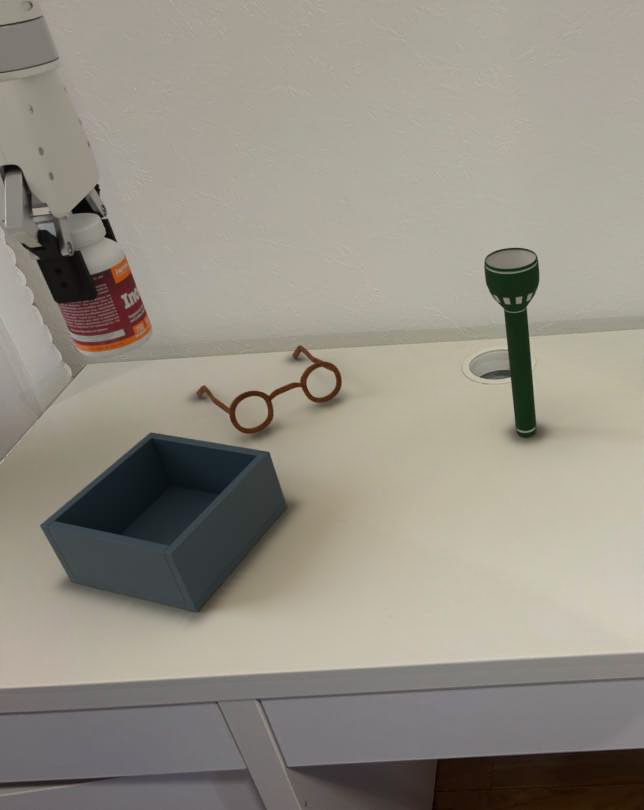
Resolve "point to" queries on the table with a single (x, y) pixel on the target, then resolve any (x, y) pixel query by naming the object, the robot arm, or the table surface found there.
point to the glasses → (277, 393)
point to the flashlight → (516, 323)
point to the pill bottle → (104, 294)
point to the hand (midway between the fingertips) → (91, 280)
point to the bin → (167, 519)
